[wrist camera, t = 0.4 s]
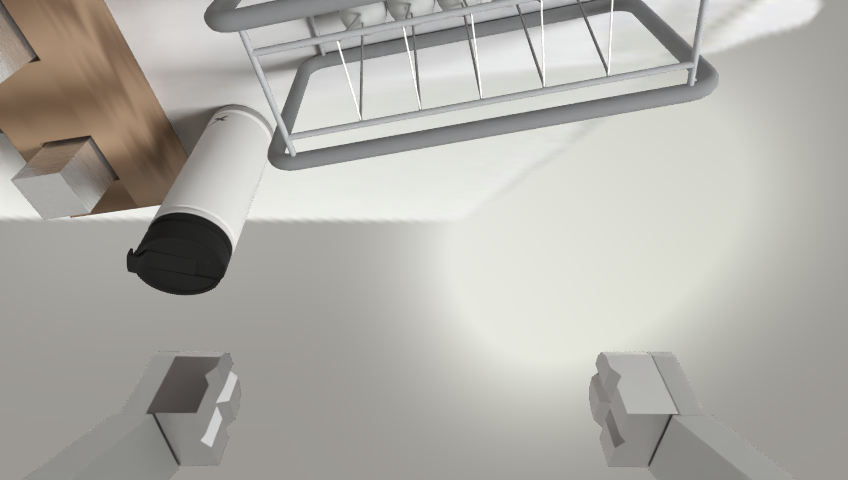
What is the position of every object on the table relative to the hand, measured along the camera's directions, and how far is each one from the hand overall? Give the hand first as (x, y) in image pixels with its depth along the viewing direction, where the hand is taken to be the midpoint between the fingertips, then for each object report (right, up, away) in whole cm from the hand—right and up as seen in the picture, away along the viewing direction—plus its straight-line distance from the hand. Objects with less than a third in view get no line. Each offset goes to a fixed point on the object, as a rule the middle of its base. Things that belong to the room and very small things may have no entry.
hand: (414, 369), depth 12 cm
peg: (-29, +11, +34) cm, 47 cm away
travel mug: (-18, +14, +41) cm, 47 cm away
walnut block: (-30, +19, +35) cm, 50 cm away
